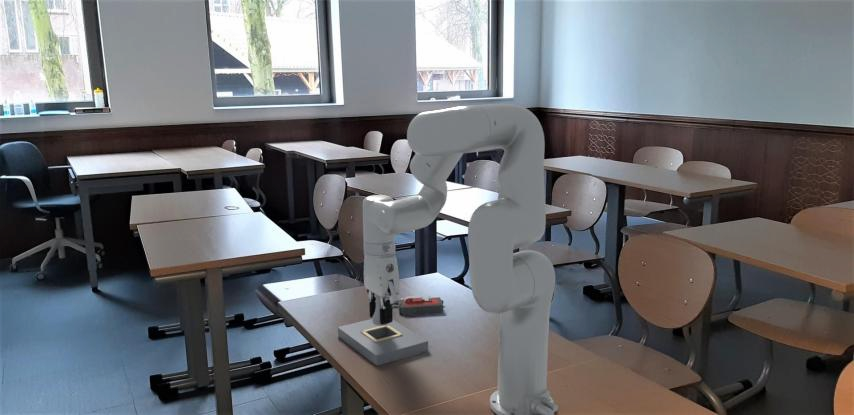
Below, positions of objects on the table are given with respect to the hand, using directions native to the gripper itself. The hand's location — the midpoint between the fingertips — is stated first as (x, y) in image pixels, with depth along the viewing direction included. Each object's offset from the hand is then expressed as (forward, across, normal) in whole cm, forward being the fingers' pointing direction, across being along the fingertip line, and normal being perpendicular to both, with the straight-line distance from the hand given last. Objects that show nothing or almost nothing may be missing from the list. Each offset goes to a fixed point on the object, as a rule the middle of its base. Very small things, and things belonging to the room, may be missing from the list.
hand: (381, 319), depth 155 cm
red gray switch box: (+7, +16, -18) cm, 25 cm away
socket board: (+6, 0, 0) cm, 6 cm away
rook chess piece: (+1, 0, 0) cm, 1 cm away
